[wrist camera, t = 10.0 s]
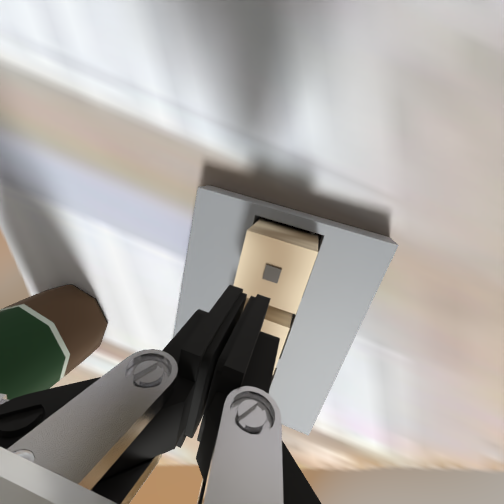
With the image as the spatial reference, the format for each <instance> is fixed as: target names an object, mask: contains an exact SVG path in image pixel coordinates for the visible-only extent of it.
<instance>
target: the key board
mask: <svg viewBox="0 0 504 504" xmlns="http://www.w3.org/2000/svg"><path fill="white" fill-rule="evenodd" d="M260 216H261V217H264V218H267V219H271V220H274V221H277V222H281V223H284V224H287V225H291V226H294V227H297V228H301V229H304V230H308V231H311V232H314V233H318V234H321V235H322V236H321V239H320V242H319V245H318V254H317V257H316V260H315V263H314V265H313V268H312V271H311V274H310V277H309V279H308V282H307V285H306V288H305V290H304V293H303V296H302V299H301V302H300V304H299V307H298V310H297V313H296V315H295V314H294V315H293V318H292V321H291V324H290V329H289V332H288V335H287V337H286V340H285V343H284V346H283V349H282V351H281V354H280V357H279V360H278V363H277V365H276V368H275V371H274V374H273V375H272V380H271V385H270V390H269V395H270V396H271V397H272V398H273V399H274V400H275V402H276V403H277V405H278V407H279V409H280V414H281V424H282V425H285V426H287V427H289V428H292V429H294V430H297V431H299V432H301V433H304V434H306V435H309V434H310V432H311V430H312V427H313V425H314V423H315V421H316V419H317V417H318V415H319V413H320V410H321V408H322V406H323V404H324V402H325V400H326V398H327V396H328V394H329V391H330V389H331V387H332V385H333V383H334V381H335V379H336V377H337V374H338V372H339V370H340V368H341V366H342V364H343V362H344V360H345V357H346V355H347V353H348V351H349V349H350V347H351V345H352V343H353V341H354V338H355V336H356V334H357V332H358V330H359V328H360V326H361V324H362V321H363V319H364V317H365V315H366V313H367V311H368V309H369V307H370V305H371V302H372V300H373V298H374V296H375V294H376V292H377V290H378V288H379V285H380V283H381V281H382V279H383V277H384V275H385V273H386V271H387V268H388V266H389V264H390V262H391V260H392V258H393V256H394V254H395V252H396V249H397V247H398V245H397V244H396V243H395V242H394V241H393V240H392V239H391V238H390V237H387V236H384V235H380V234H377V233H373V232H370V231H367V230H363V229H360V228H356V227H353V226H349V225H346V224H342V223H339V222H335V221H332V220H328V219H325V218H321V217H318V216H314V215H311V214H307V213H304V212H301V211H297V210H294V209H290V208H287V207H283V206H280V205H276V204H273V203H269V202H266V201H262V200H259V199H255V198H252V197H248V196H245V195H241V194H238V193H235V192H231V191H228V190H224V189H221V188H217V187H214V186H210V185H209V186H202V187H198V190H197V196H196V202H195V208H194V214H193V220H192V226H191V232H190V239H189V245H188V251H187V257H186V263H185V269H184V275H183V281H182V287H181V293H180V299H179V305H178V311H177V317H176V323H175V329H174V335H173V338H174V336H175V335H176V334H177V333H178V332H179V331H180V329H181V328H182V327H183V326H184V325H185V323H186V322H187V321H188V320H189V319H190V318H191V316H192V315H193V314H194V313H195V312H196V311H197V310H198V309H200V310H203V311H206V312H209V311H210V310H211V309H212V307H213V306H214V305H215V303H216V302H217V301H218V299H219V298H220V297H221V295H222V294H223V293H224V291H225V290H226V289H227V287H228V286H229V285H234V281H235V277H236V273H237V269H238V265H239V261H240V256H241V252H242V248H243V244H244V240H245V236H246V232H247V230H248V229H249V228H250V227H251V226H253V225H254V224H255V223H256V222H257V221H258V220H259V218H260Z"/></svg>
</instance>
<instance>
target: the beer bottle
mask: <svg viewBox="0 0 504 504" xmlns="http://www.w3.org/2000/svg"><path fill="white" fill-rule="evenodd" d="M106 327H107V322H106V319H105V317H104V315H103V313H102V311H101V309H100V307H99V305H98V303H97V301H96V299H95V298H93V297H92V296H90V295H88V294H87V293H85V292H84V291H82V290H80V289H79V288H77V287H76V286H74V285H65V286H61V287H57V288H53V289H49V290H46V291H44V292H41V293H38V294H36V295H33V296H31V297H28V298H26V299H24V300H21V301H19V302H17V303H15V304H12V305H10V306H8V307H5V308H3V309H1V310H0V394H6V395H7V400H11V399H13V398H16V397H19V396H22V395H25V394H29V393H34V392H38V391H42V390H47V389H49V388H51V387H52V386H53V385H54V384H56V383H57V382H58V381H59V380H60V379H62V378H63V377H64V376H65V375H67V374H68V373H69V372H70V371H71V370H73V369H74V368H75V367H76V366H78V365H79V364H80V363H81V362H83V361H84V360H85V359H86V358H87V357H88V356H90V355H91V354H92V353H93V352H94V351H95V350H96V349H97V348H98V347H99V346H100V344H101V342H102V339H103V336H104V333H105V330H106Z"/></svg>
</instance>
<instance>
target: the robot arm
mask: <svg viewBox="0 0 504 504" xmlns="http://www.w3.org/2000/svg"><path fill="white" fill-rule="evenodd" d="M246 298H247V294H245V293H243V289H242V288H239V287H236V286H233V285H229V286H228V287H227V289H226V290H225V291H224V293H223V294H222V295H221V297H220V298H219V299H218V301H217V302H216V303H215V305H214V306H213V307H212V309H211V310H210V311H209V312H206V311H203V310H200V309H198V310H197V311H196V312H195V313H194V314H193V315H192V316H191V318H190V319H189V320H188V321H187V322H186V323H185V325H184V326H183V327H182V328H181V329H180V331H179V332H178V333H177V334H176V335H175V336H174V338H173V339H172V340H171V341H170V342H169V343H168V345H167V346H166V347H165V348H164V349H163V351H161V350H155V349H149V350H142V351H139V352H136V353H134V354H132V355H130V356H129V357H127V358H126V359H125V360H123V361H122V362H121V363H119V364H118V365H117V366H115V367H114V368H113V369H111V370H110V371H109V372H107V373H106V374H105V375H104V376H102V377H99V378H95V379H90V380H86V381H82V382H77V383H73V384H69V385H64V386H60V387H55V388H51V389H47V390H42V391H38V392H34V393H29V394H25V395H22V396H19V397H16V398H13V399H11V400H7V395H6V394H0V504H129V503H130V502H131V500H132V499H133V497H134V496H135V495H136V493H137V492H138V490H139V489H140V488H141V486H142V485H143V483H144V482H145V481H146V479H147V478H148V476H149V475H150V474H151V472H152V471H153V469H154V468H155V466H156V465H157V464H158V462H159V460H160V458H161V456H162V454H163V453H165V452H168V451H170V450H172V449H175V447H176V446H178V447H180V448H181V446H182V444H183V442H184V440H185V438H186V436H188V437H190V438H193V436H194V434H195V432H196V429H197V427H198V425H199V423H200V421H201V419H202V422H201V426H200V430H199V434H198V438H197V441H200V445H199V448H198V452H197V456H196V460H197V462H198V465H199V468H200V471H201V474H202V477H203V481H202V484H201V488H200V493H199V497H198V502H197V504H321V502H320V501H319V499H318V497H317V496H316V494H315V493H314V491H313V489H312V488H311V486H310V484H309V483H308V481H307V480H306V478H305V477H304V475H303V473H302V472H301V470H300V468H299V467H298V465H297V464H296V462H295V460H294V459H293V457H292V455H291V454H290V452H289V451H288V449H287V447H286V446H285V444H284V443H283V441H282V426H281V414H280V409H279V407H278V405H277V403H276V402H275V400H274V399H273V398H272V397H271V396H270V395H269V390H270V385H271V380H272V375H273V370H274V366H275V361H276V356H277V351H278V346H279V342H280V338H278V337H276V336H273V335H270V334H267V333H264V332H262V331H261V328H262V325H263V322H264V319H265V316H266V312H267V309H268V306H269V303H270V299H271V298H268V297H265V296H262V295H259V294H257V296H256V297H254V296H251V297H250V298H249V300H248V302H247V304H246V306H245V308H244V305H245V301H246ZM243 309H244V310H243ZM203 414H204V415H203ZM202 416H203V418H202Z"/></svg>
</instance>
